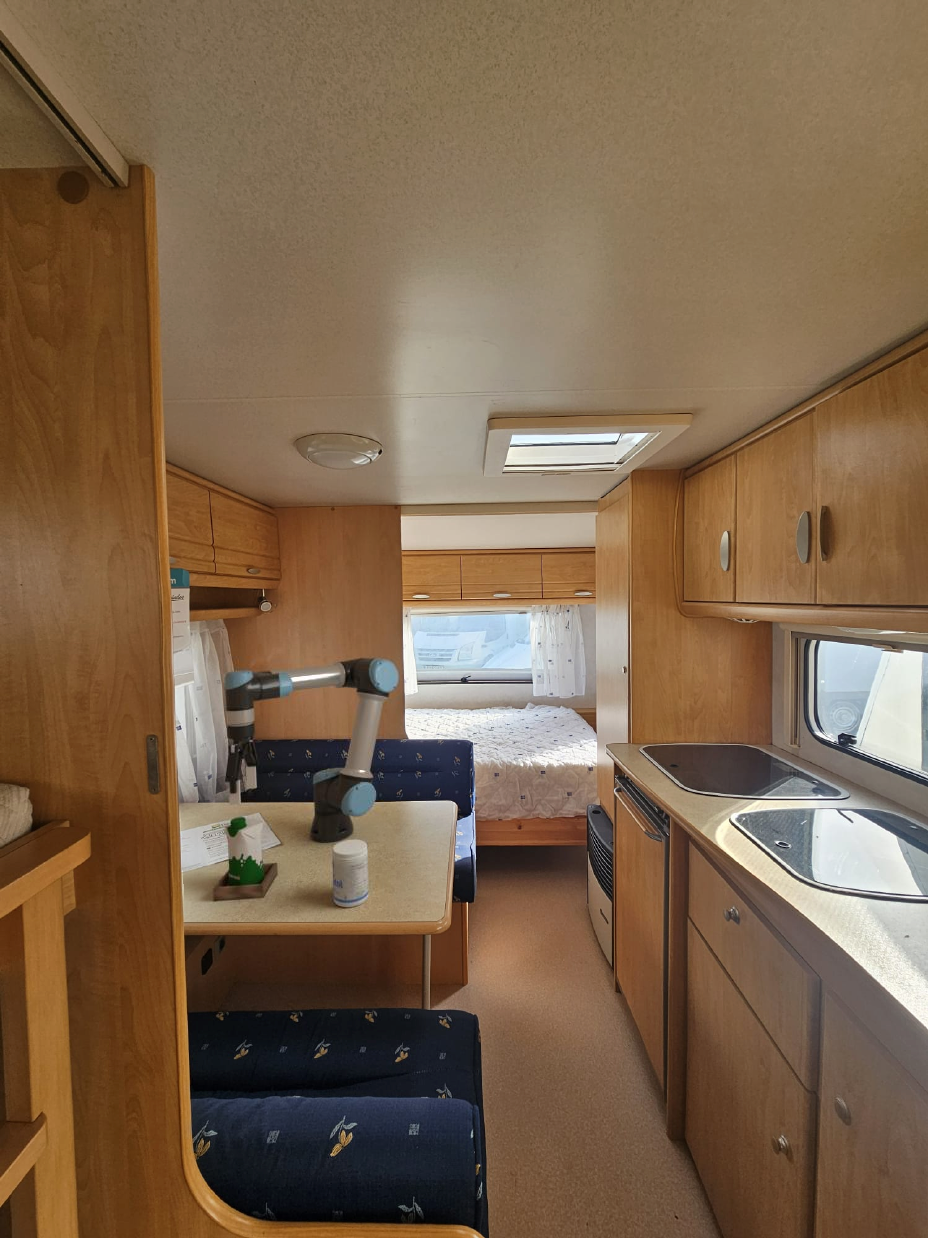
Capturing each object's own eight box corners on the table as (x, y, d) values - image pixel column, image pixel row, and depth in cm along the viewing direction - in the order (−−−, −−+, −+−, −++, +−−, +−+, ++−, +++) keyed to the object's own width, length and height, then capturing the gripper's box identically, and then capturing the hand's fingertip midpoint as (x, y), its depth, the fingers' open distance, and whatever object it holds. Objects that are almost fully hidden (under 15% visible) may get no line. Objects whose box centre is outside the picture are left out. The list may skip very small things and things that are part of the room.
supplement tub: (326, 901, 143) (324, 848, 143) (354, 886, 150) (352, 836, 150) (348, 913, 137) (346, 857, 137) (376, 897, 144) (374, 844, 144)
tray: (277, 874, 160) (277, 862, 160) (263, 897, 146) (262, 885, 146) (232, 877, 159) (231, 865, 159) (213, 901, 145) (213, 889, 145)
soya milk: (223, 889, 151) (221, 820, 151) (250, 875, 159) (248, 809, 158) (243, 896, 146) (240, 825, 146) (270, 881, 154) (267, 814, 154)
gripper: (242, 716, 165) (245, 783, 165) (209, 733, 140) (213, 812, 140) (266, 715, 165) (269, 781, 166) (238, 732, 141) (241, 810, 141)
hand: (243, 796), depth 153 cm, fingers open, 13 cm apart
